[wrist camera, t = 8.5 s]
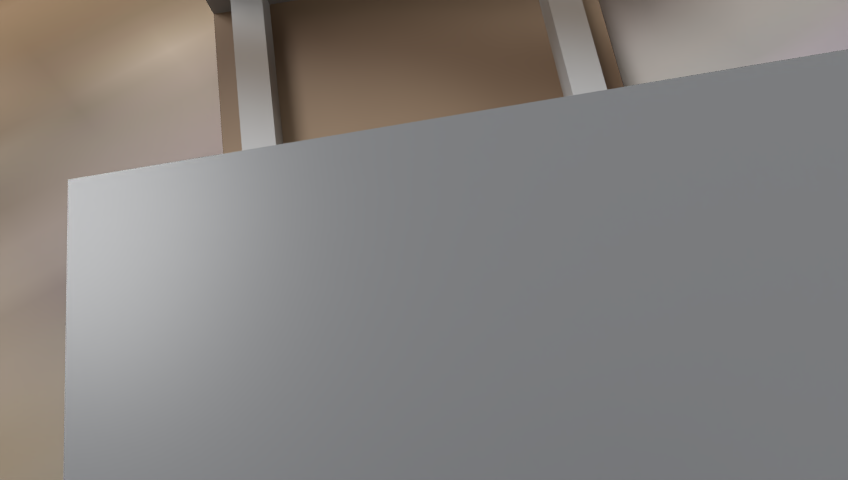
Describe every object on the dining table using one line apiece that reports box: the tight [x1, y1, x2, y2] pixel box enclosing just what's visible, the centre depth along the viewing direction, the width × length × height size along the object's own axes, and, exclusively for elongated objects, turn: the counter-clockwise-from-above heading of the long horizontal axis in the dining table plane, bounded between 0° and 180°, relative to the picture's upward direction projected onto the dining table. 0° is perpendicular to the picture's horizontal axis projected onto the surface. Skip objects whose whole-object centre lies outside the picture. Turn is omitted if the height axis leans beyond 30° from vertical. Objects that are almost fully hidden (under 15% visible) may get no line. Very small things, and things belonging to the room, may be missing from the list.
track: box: [206, 0, 624, 154], centre depth 13 cm, size 24×10×4 cm, turn 9°
